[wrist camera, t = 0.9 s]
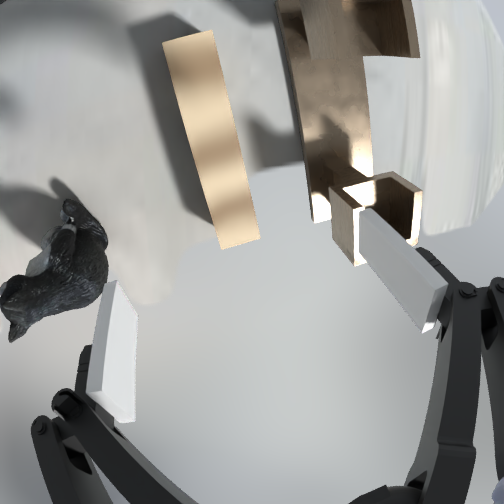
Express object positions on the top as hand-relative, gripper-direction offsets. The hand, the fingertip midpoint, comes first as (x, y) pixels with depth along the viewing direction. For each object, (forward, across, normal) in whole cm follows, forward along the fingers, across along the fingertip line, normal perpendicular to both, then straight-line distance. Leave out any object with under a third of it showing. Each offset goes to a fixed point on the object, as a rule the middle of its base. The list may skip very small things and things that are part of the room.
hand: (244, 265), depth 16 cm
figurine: (+18, -16, -3) cm, 24 cm away
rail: (+18, +1, +2) cm, 18 cm away
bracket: (+18, +14, +3) cm, 23 cm away
